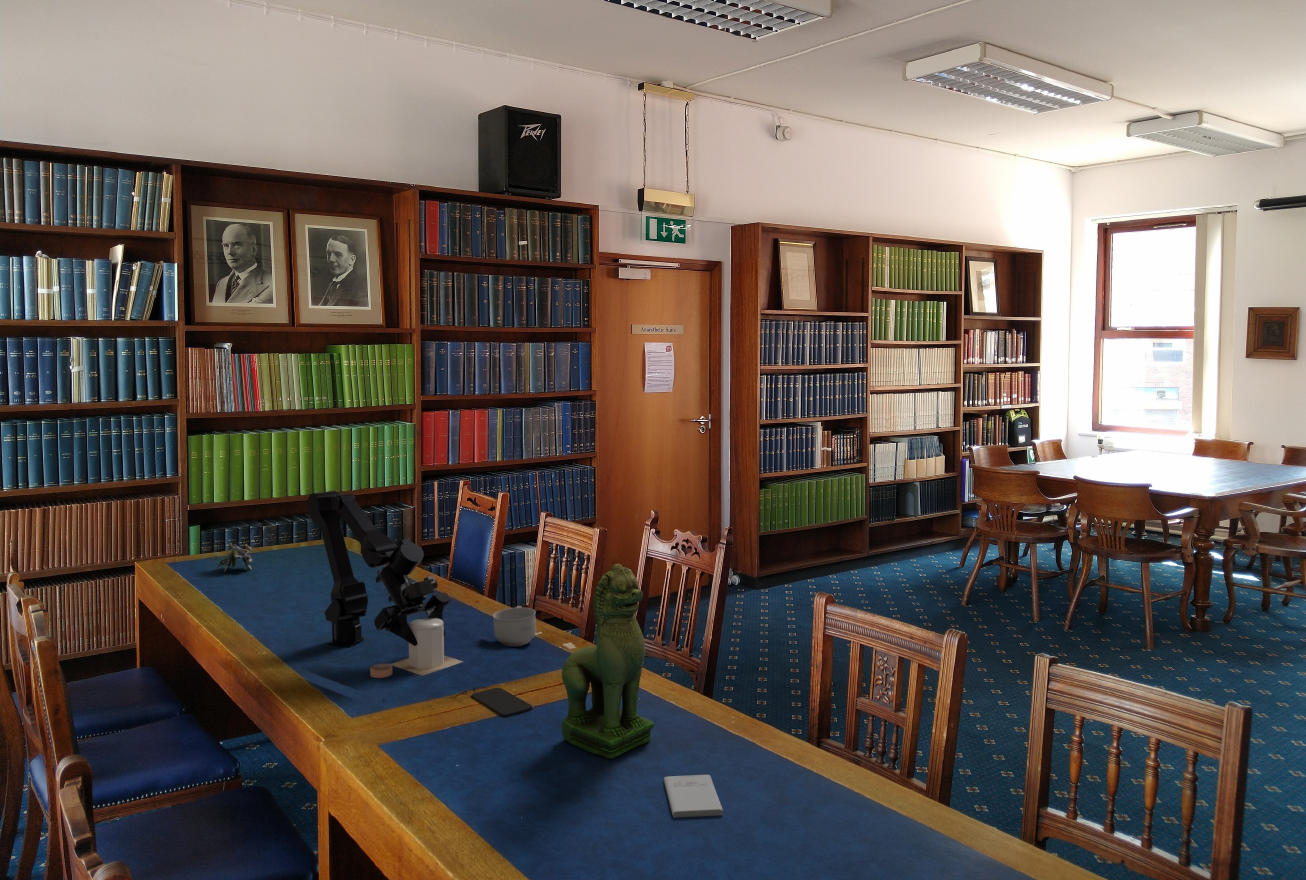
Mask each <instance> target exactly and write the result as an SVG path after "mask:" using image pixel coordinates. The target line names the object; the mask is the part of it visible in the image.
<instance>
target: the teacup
mask: <svg viewBox="0 0 1306 880" xmlns="http://www.w3.org/2000/svg"><path fill="white" fill-rule="evenodd" d="M536 613H537V612H536V610H535V609H534V608H529V607H522V606H521V605H517V606H515V607H510V608H504V609H501V610H498V611H496V612H494V613H493V614H492V619H493V631H494V636H495V639H496V640H497V641H498V642H499V643H501V644H502V645H503V646H505V645H506V647H519V646H522V647H523V646H524V645H527V644H528V643H530V641H531V640H532V639H533V638H535V636H536V633H537V632H536V631H537V622H536Z"/></svg>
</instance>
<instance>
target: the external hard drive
mask: <svg viewBox="0 0 1306 880" xmlns="http://www.w3.org/2000/svg"><path fill="white" fill-rule="evenodd" d="M663 783H664V787H665V792H666V795H667V799H668V803H669V806H670V810H671V814H672V818H690V817H693V818H694V817H712V816H713V817H714V816H724V809H723V807H722V804H721V802H720V798H719V796H718V794H717V791H716V787H715V786H714V782H713V780H712V777H711V775H710V774H694V775H691V774H690V775H675V776H673V775H672V776H665V777H664V778H663Z"/></svg>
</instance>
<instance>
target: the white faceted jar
mask: <svg viewBox="0 0 1306 880" xmlns="http://www.w3.org/2000/svg"><path fill="white" fill-rule="evenodd" d="M408 625H409V627H410V629H411V630H412V632H413V634H414V636H415V638H416V640H417V643H418V644H417V645H416V646H413V645H412V644H410V643H409V642H408V658H409V666H411V667H414V668H417V669H425V668H434V667H437V666H440V665H443V661H444V656H445V647H444V646H445V641H444V640H445V639H444V638H445V636H444V630H445V624H444V620H443V621H442V620H441V619H437V618H427V617H425V618H423V617H422V618H421V617H420V618H417V619H413V620H411V621H410V622H408Z"/></svg>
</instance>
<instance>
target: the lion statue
mask: <svg viewBox="0 0 1306 880" xmlns="http://www.w3.org/2000/svg"><path fill="white" fill-rule="evenodd" d="M593 592H594V595H593V598H592V600H593V601H592V605H593V615H594V619H595V624H596V625H595V626H596V645H595V646H594V645H590V646H584V647H581V648H578V649H577V650H575V651H574V652H572V653H571V654H570V655H569V656H568V657H567V658H566V660H565V661H564V664H563V666H562V669H561V680H562V683H563V685H564V687H565V692H566V695H567V700H568V701H567V702H568V708H567V709H568V710H567V716H566V717H565V718H563V720H562V721H561V730H562V731H561V732H562V733H561V734H562V738H563V740H564V741H565V742H567V743H569V744H570V745H572V746H575V747H577V748H579V749H581V750H583V751H585V752H589V753H590V754H593V755H596V756H601V757H604V758H606V759H608V760H614V759H615V758H618V757H620V756H621V755H623V754H625V753H628V752H629V751H630V750H632V749H635V748H637V747H641V746H642V745H644V744H645V745H646V744H647V743H648V742H650V740H651V737H652V736H651V730H652V729H653V728H654V727H655V723H654V722H653V721H652V720H650V719H649V718H646V717H642V716H640V715H639V714H638V698H639V689H640V682H641V676H642V671H643V667H644V666H643V665H644V661H645V656H646V644H645V638H644V635H643V632H642V629H641V628H640V624H639V622H638V620H637V618H636V616H635V614H636V613H637V612H638V611H639V603H640V602H642V600H643V598H644V597H643V596H644V593H643V591H642V590H641V588H639V581H638V579H637V578H636V576H635V575H634V573H633V571H632V569H630V568H628V567H624V566H623V565H622V564H620V563H615V564H613V565H612V567H611V568H610V570H609V571H607V572H605V574H603V575H602V576H601V578H600V580H599V581H598V582H597V584H596V587H595V588H594V591H593ZM590 689H591V691H590V692H591V707H590V709H588V710H587V707H586V704H587V703H586V702H587V697H588V693H589V690H590ZM621 706H622V707H621Z"/></svg>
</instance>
